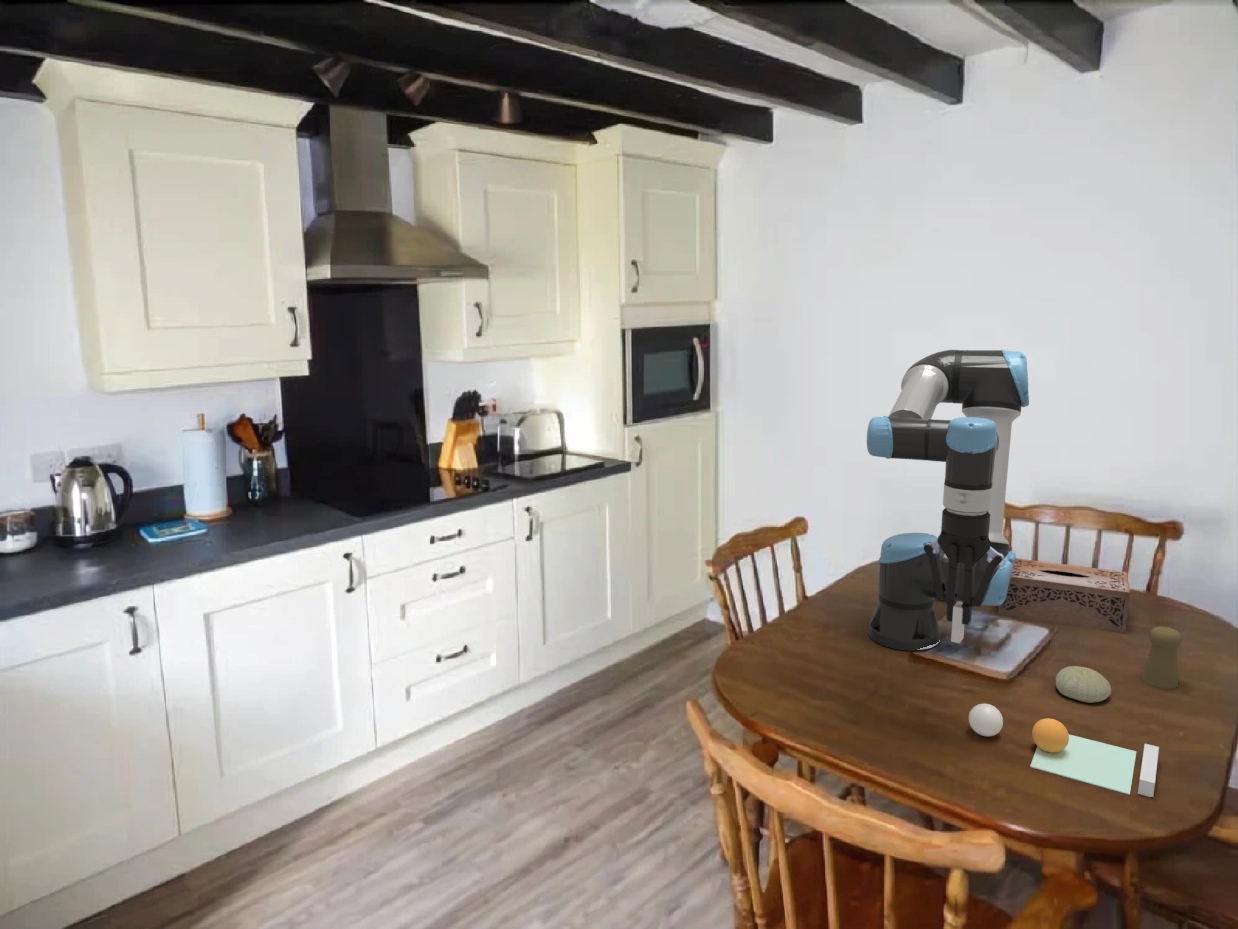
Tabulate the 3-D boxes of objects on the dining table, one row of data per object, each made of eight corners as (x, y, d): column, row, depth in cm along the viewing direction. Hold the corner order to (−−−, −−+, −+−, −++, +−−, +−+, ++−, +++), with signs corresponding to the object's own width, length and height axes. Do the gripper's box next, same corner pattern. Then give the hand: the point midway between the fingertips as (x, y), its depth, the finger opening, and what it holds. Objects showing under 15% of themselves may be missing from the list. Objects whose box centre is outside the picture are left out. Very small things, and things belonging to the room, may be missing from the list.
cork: (1178, 692, 160) (1185, 638, 158) (1141, 684, 163) (1147, 631, 161) (1177, 679, 165) (1184, 626, 163) (1141, 672, 168) (1148, 620, 166)
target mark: (1030, 767, 137) (1030, 766, 137) (1043, 729, 148) (1044, 728, 148) (1129, 795, 129) (1129, 793, 129) (1136, 752, 140) (1136, 751, 140)
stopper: (1137, 793, 129) (1139, 779, 129) (1143, 757, 139) (1144, 743, 139) (1153, 798, 128) (1154, 783, 128) (1157, 760, 138) (1159, 747, 137)
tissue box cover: (998, 615, 198) (1001, 575, 196) (1003, 595, 211) (1006, 557, 208) (1124, 635, 186) (1129, 592, 184) (1122, 612, 198) (1127, 572, 196)
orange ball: (1034, 721, 139) (1070, 735, 137) (1039, 708, 144) (1074, 721, 141) (1026, 750, 141) (1062, 764, 138) (1031, 735, 146) (1065, 749, 143)
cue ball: (993, 710, 143) (1002, 741, 143) (1001, 698, 147) (1010, 728, 147) (961, 711, 146) (969, 741, 146) (970, 699, 150) (978, 729, 150)
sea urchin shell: (1095, 703, 153) (1069, 662, 157) (1064, 717, 159) (1039, 678, 163) (1126, 691, 157) (1099, 651, 161) (1094, 705, 163) (1070, 667, 167)
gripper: (920, 509, 142) (913, 639, 148) (1003, 520, 135) (992, 656, 140) (932, 499, 148) (924, 624, 154) (1012, 509, 141) (1001, 640, 146)
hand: (957, 639), depth 147 cm, fingers closed
